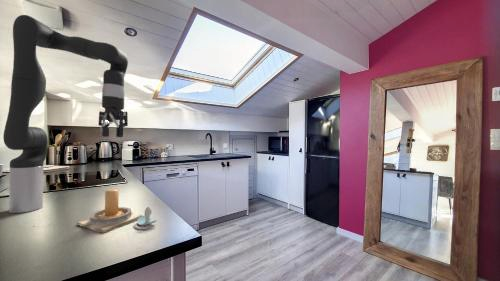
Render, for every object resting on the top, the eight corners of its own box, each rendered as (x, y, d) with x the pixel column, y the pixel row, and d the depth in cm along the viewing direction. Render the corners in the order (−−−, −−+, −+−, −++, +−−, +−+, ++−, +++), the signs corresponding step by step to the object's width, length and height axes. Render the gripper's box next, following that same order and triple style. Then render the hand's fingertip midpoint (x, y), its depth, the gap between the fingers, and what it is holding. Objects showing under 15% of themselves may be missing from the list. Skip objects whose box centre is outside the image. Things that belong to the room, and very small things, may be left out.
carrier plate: (76, 224, 70) (76, 216, 70) (117, 211, 83) (117, 204, 83) (103, 233, 64) (103, 223, 64) (142, 217, 77) (142, 209, 77)
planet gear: (93, 220, 72) (93, 191, 72) (114, 213, 79) (115, 186, 79) (107, 224, 69) (108, 194, 69) (128, 216, 76) (129, 189, 76)
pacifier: (141, 232, 66) (158, 226, 71) (141, 213, 66) (158, 207, 71) (130, 226, 70) (147, 220, 75) (129, 208, 70) (147, 203, 75)
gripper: (92, 96, 83) (91, 136, 83) (116, 94, 78) (115, 137, 78) (111, 99, 90) (110, 136, 90) (134, 98, 85) (133, 137, 85)
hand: (112, 136), depth 84 cm, fingers open, 8 cm apart
